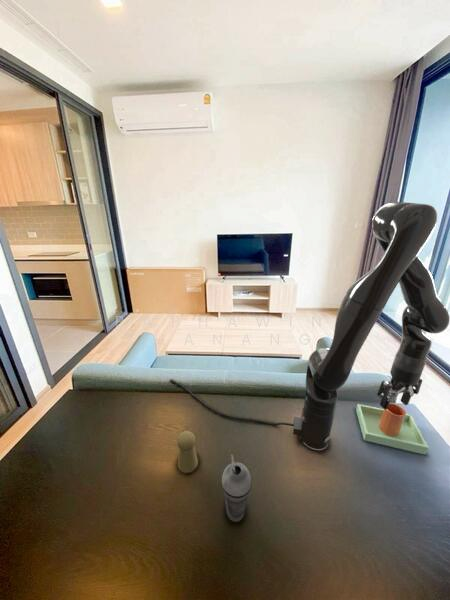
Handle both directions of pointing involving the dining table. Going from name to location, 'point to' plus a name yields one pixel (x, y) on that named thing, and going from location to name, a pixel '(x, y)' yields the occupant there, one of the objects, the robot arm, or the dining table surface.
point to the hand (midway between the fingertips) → (393, 405)
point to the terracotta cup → (392, 420)
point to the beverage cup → (236, 489)
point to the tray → (371, 432)
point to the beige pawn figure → (187, 452)
